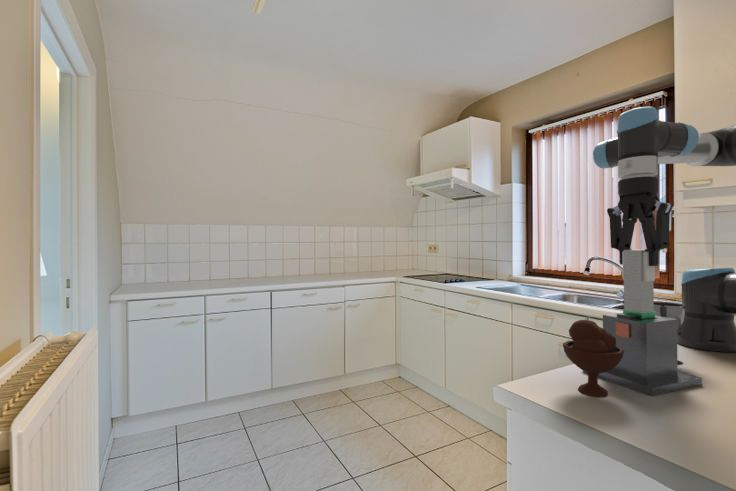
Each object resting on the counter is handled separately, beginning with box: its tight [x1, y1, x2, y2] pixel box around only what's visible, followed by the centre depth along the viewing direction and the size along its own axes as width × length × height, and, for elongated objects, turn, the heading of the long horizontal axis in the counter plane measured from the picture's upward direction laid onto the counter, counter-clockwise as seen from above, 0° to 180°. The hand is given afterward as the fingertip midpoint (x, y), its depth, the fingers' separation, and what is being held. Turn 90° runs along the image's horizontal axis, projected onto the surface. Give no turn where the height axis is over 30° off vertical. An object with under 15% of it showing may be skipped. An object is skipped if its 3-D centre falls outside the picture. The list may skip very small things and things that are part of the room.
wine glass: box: [654, 300, 685, 366], centre depth 99 cm, size 8×8×15 cm
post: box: [622, 249, 655, 320], centre depth 87 cm, size 4×4×21 cm
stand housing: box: [582, 312, 703, 397], centre depth 87 cm, size 16×16×15 cm
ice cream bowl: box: [562, 319, 624, 398], centre depth 79 cm, size 11×11×15 cm
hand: (638, 279), depth 87 cm, fingers closed on post, 4 cm apart
